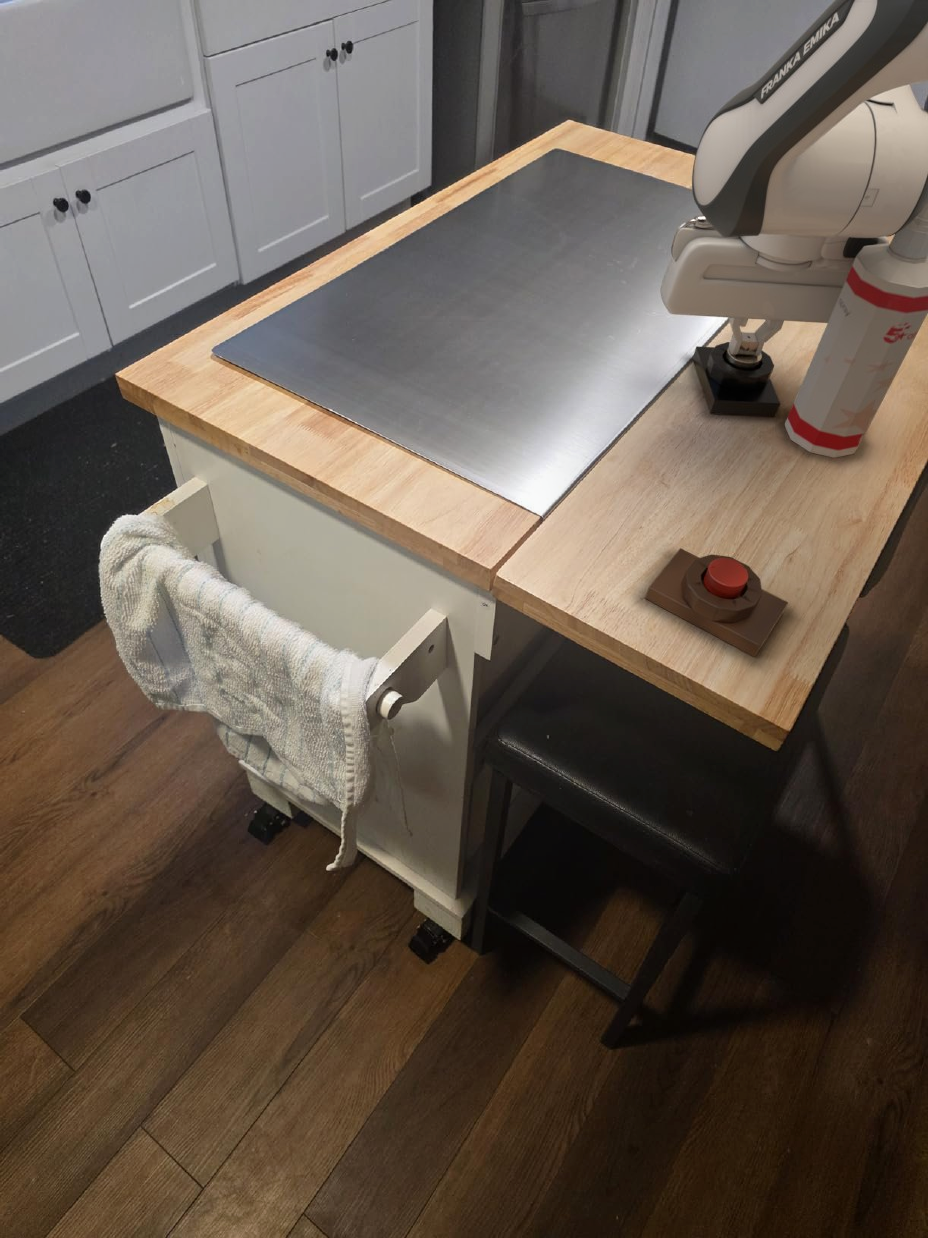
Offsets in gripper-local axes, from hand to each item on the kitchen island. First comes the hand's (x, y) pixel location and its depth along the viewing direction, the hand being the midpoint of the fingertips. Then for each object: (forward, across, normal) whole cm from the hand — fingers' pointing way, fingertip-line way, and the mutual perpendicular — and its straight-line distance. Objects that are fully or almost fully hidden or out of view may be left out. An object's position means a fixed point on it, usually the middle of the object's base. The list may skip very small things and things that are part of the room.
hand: (743, 352), depth 91 cm
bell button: (+2, -9, -32) cm, 33 cm away
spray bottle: (+4, +8, -8) cm, 12 cm away
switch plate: (+4, 0, 0) cm, 4 cm away
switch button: (+2, 0, 0) cm, 2 cm away
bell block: (+4, -8, -32) cm, 33 cm away
